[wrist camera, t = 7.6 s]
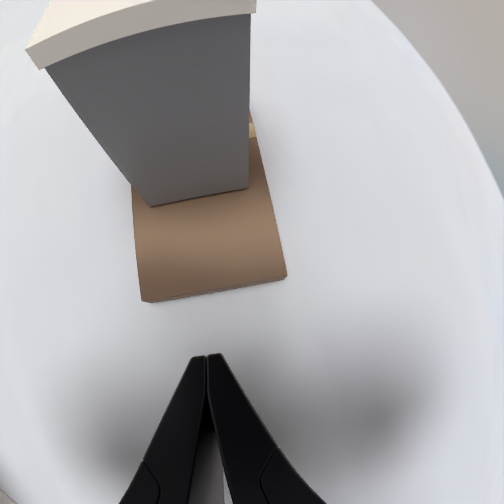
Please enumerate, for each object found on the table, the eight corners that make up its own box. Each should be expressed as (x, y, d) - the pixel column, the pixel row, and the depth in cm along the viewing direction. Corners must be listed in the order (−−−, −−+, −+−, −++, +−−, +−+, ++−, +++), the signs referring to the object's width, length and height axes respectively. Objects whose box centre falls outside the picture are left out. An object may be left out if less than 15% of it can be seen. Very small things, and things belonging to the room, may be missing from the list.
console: (283, 279, 16) (297, 263, 12) (150, 302, 16) (117, 295, 11) (245, 107, 18) (244, 56, 14) (137, 128, 18) (114, 83, 13)
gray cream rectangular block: (250, 189, 15) (256, -15, 4) (147, 209, 15) (24, 49, 4) (236, 121, 16) (228, -64, 5) (143, 140, 16) (65, -22, 5)
